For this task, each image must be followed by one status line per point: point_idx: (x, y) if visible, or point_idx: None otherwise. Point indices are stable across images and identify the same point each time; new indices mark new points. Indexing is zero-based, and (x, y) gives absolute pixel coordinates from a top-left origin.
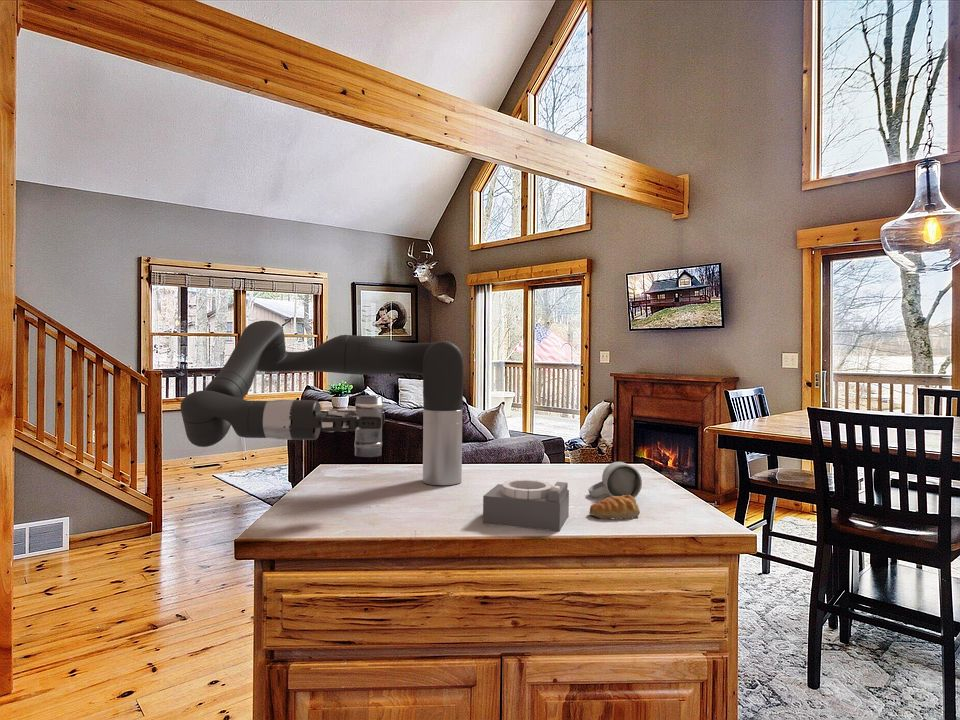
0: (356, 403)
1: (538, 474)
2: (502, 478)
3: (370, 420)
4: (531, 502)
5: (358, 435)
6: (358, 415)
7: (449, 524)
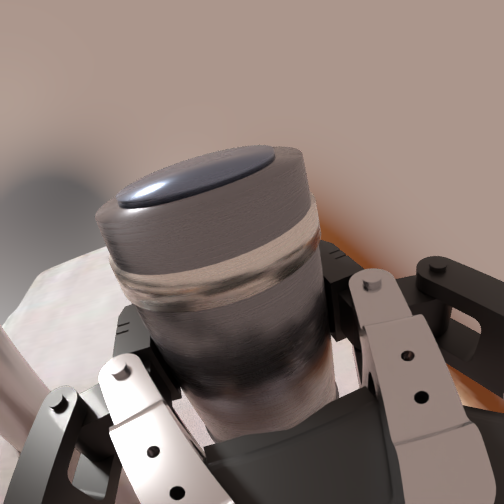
0: (292, 233)
1: (37, 327)
2: (42, 355)
3: (343, 256)
4: None
5: (331, 391)
6: (319, 303)
7: None
